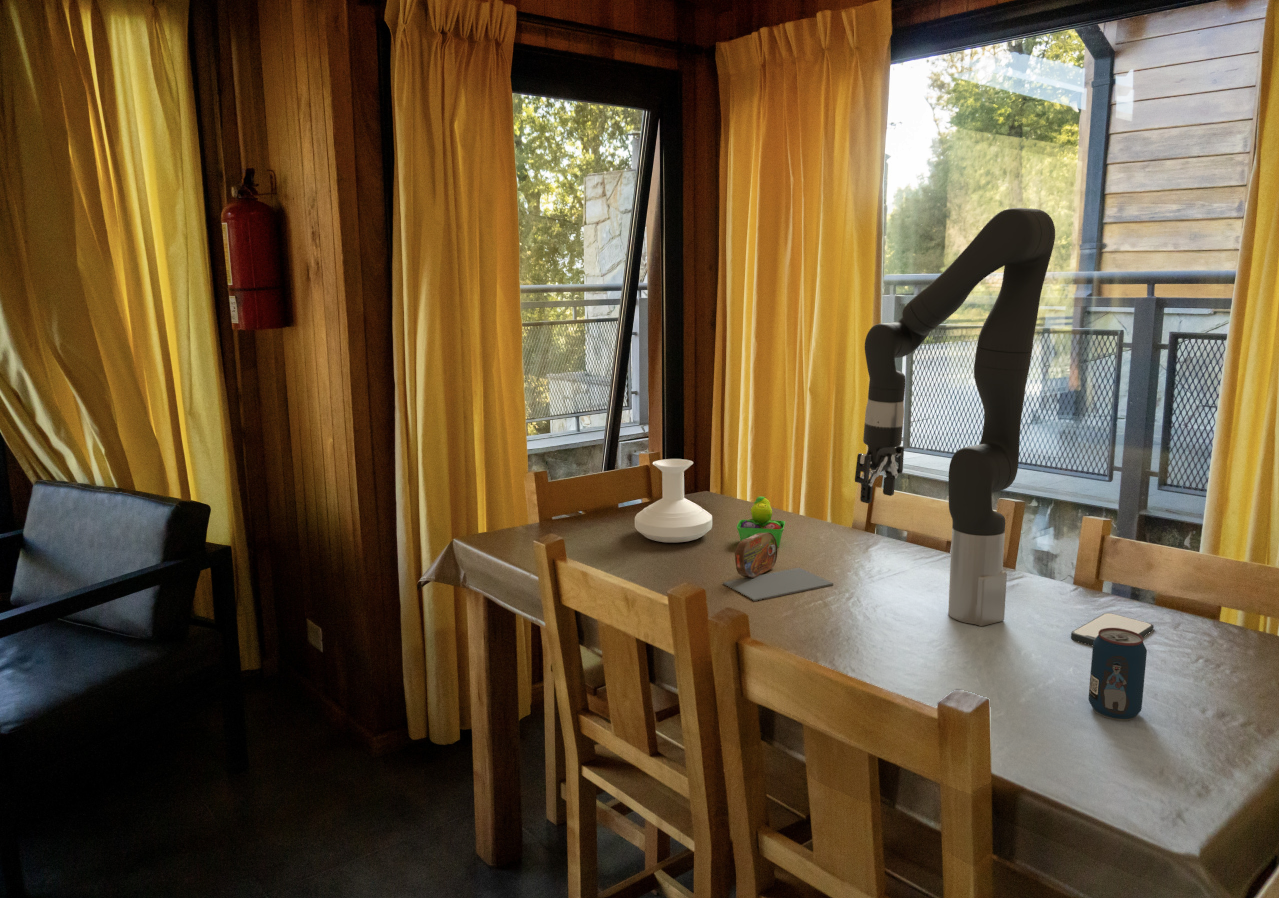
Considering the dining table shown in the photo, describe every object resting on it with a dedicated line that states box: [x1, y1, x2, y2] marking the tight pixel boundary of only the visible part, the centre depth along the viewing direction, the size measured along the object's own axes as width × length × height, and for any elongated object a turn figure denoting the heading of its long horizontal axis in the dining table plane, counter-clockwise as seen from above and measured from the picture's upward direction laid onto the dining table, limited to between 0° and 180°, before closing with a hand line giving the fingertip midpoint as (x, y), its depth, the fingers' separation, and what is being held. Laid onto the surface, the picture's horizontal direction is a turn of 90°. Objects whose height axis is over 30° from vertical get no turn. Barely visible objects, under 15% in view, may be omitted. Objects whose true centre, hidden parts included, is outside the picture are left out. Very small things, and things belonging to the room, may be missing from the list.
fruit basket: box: [736, 496, 786, 548], centre depth 215 cm, size 11×9×11 cm
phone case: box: [1070, 612, 1155, 646], centre depth 157 cm, size 9×2×16 cm
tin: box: [734, 533, 778, 578], centre depth 193 cm, size 15×3×8 cm, turn 143°
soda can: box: [1088, 628, 1148, 722], centre depth 128 cm, size 7×7×12 cm
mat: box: [722, 567, 834, 602], centre depth 186 cm, size 12×20×1 cm, turn 116°
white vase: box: [634, 458, 713, 543], centre depth 222 cm, size 20×20×19 cm
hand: (877, 498), depth 180 cm, fingers open, 8 cm apart
